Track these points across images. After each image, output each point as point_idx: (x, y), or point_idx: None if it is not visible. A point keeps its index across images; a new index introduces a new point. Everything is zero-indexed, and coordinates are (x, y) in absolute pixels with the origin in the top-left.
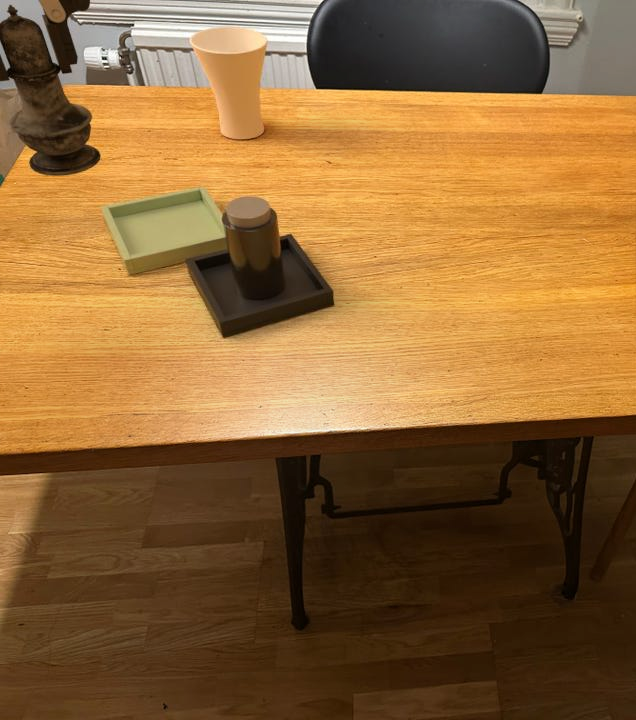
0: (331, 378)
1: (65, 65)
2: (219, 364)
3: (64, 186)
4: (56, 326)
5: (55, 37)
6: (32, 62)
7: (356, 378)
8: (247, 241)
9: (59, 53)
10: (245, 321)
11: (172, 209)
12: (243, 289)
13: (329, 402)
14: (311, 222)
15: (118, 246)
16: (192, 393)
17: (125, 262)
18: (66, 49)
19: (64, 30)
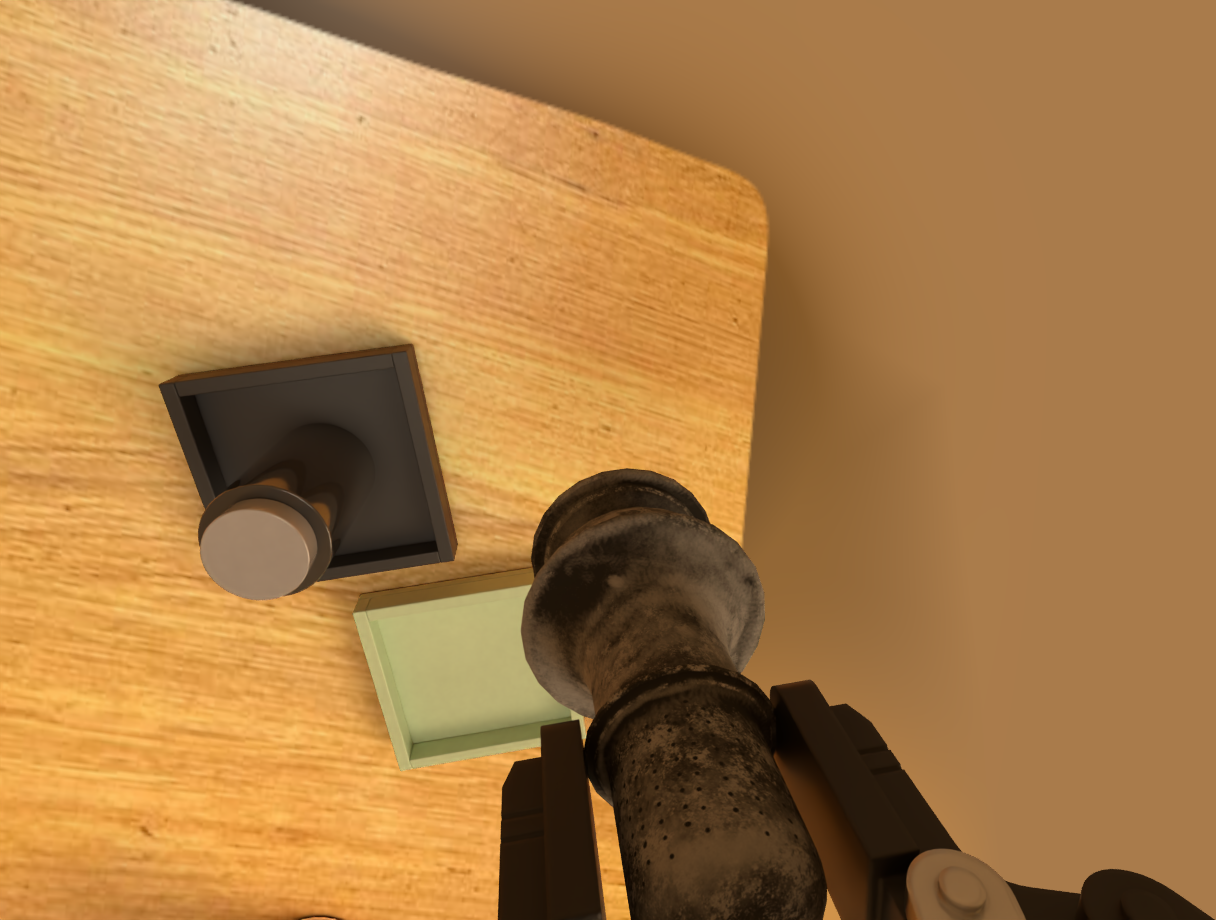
0: (207, 148)
1: (559, 742)
2: (426, 271)
3: None
4: (680, 460)
5: (571, 849)
6: (687, 731)
7: (151, 127)
8: (287, 477)
9: (571, 783)
10: (359, 354)
11: (468, 724)
12: (352, 444)
13: (218, 75)
14: (203, 647)
15: None
16: (482, 207)
17: None
18: (539, 813)
19: (522, 901)
